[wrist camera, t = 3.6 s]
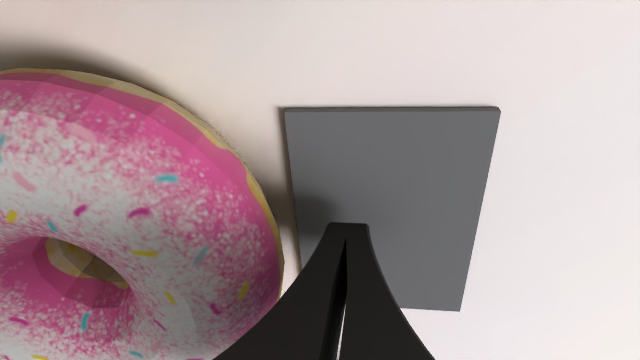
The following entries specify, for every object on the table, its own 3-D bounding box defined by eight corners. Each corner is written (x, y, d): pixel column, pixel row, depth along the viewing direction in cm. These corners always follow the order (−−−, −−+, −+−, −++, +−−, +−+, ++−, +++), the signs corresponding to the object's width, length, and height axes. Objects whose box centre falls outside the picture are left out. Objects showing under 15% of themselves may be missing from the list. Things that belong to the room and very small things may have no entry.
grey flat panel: (458, 305, 17) (459, 311, 17) (306, 296, 18) (305, 302, 18) (498, 107, 12) (501, 111, 12) (285, 108, 13) (283, 111, 13)
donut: (172, -29, 11) (52, 6, 7) (349, 287, 17) (340, 403, 13) (-104, 125, 16) (-278, 203, 11) (117, 335, 22) (56, 434, 18)
